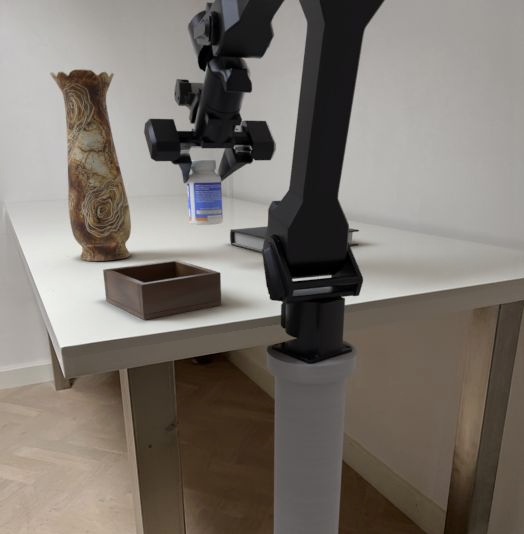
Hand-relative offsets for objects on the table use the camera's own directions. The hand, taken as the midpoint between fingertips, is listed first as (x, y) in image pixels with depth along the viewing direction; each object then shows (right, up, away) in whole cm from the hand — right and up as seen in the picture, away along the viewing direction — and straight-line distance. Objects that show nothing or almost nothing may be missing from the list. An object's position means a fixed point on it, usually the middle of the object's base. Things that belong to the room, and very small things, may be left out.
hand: (201, 180), depth 88 cm
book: (+16, -6, +24) cm, 30 cm away
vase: (-19, -10, +12) cm, 25 cm away
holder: (-3, -21, -18) cm, 28 cm away
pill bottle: (+1, -7, +1) cm, 7 cm away
